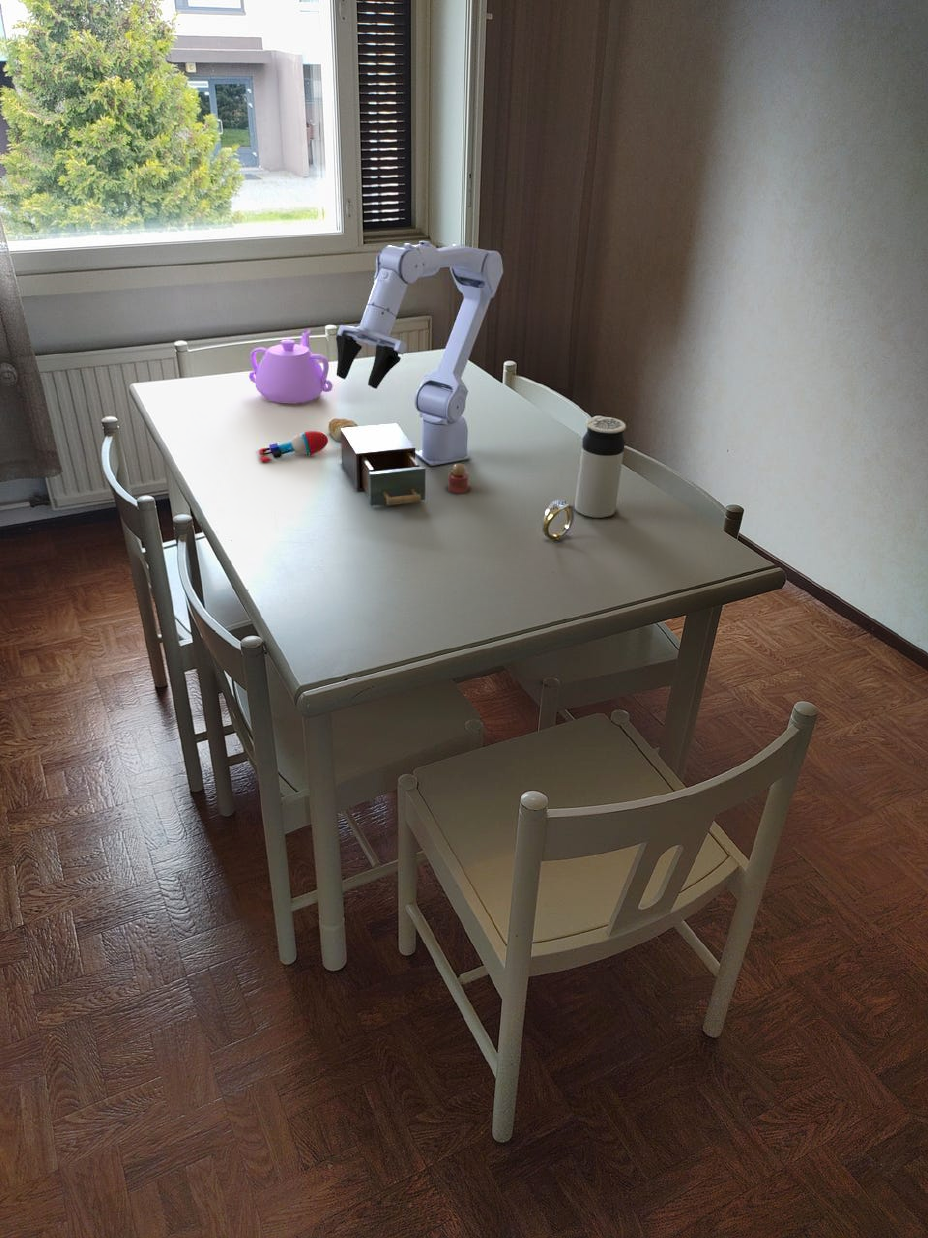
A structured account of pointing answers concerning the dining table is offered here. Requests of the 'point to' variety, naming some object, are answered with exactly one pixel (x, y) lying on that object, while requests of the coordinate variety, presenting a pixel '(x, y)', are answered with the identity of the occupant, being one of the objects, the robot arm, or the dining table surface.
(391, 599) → the dining table surface
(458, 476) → the doll
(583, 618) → the dining table surface
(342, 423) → the pastry
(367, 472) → the drawer
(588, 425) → the travel mug
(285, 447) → the toy figure
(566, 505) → the ring
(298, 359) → the teapot
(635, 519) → the dining table surface
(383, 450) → the cabinet
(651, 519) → the dining table surface
